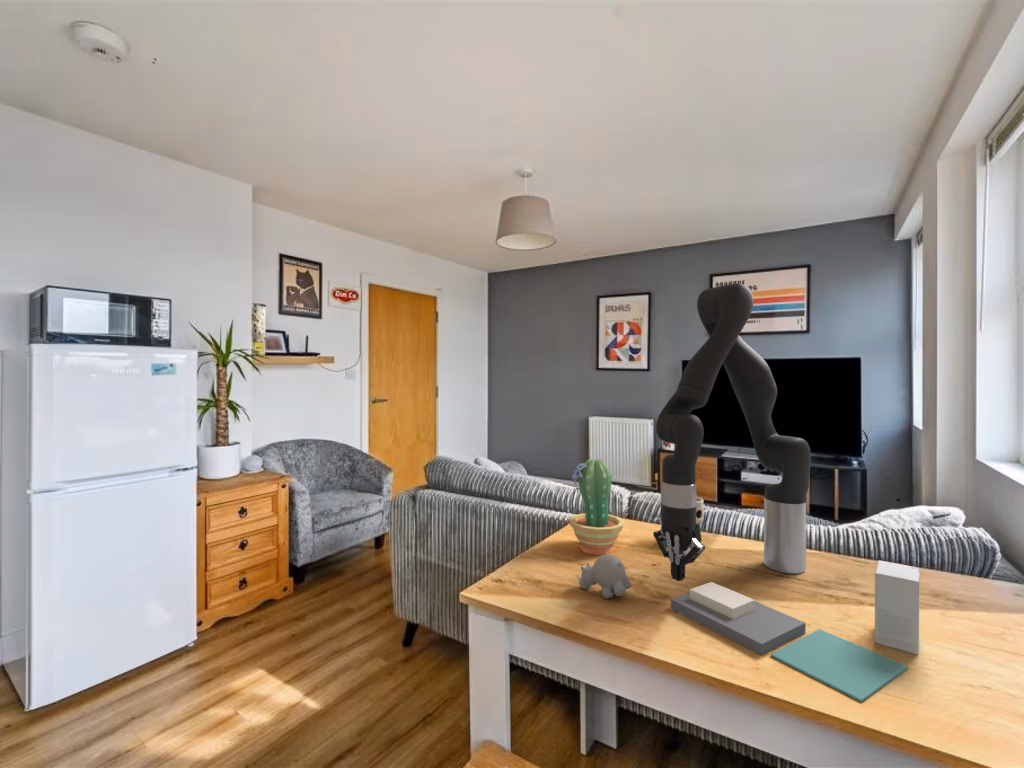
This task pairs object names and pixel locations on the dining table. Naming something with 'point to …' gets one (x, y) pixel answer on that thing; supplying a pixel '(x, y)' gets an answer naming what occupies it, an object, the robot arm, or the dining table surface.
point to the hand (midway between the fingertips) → (677, 579)
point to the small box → (897, 606)
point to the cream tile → (722, 600)
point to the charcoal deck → (745, 624)
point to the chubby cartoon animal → (606, 576)
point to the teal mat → (840, 664)
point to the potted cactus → (595, 509)
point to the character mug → (698, 518)
